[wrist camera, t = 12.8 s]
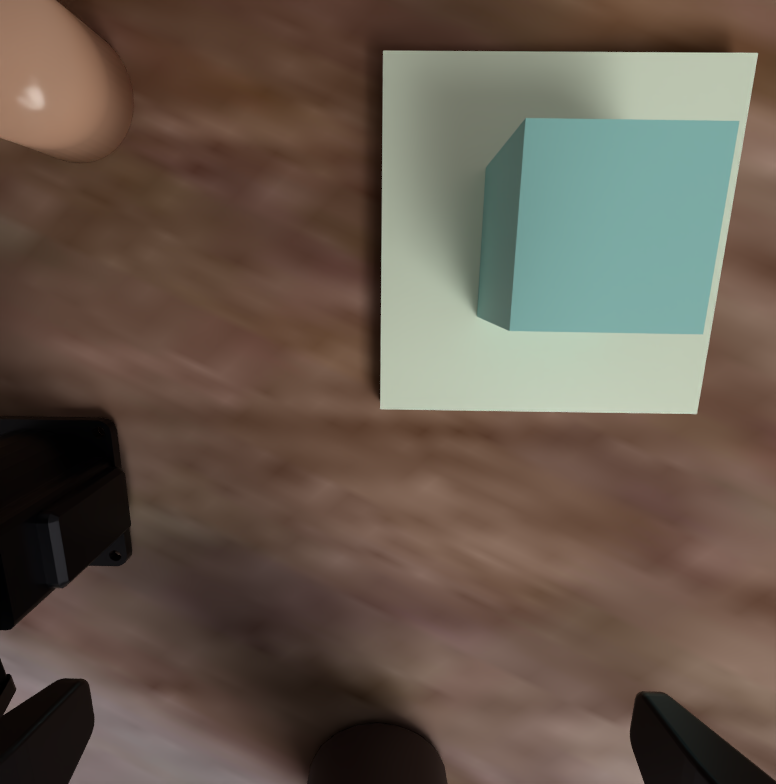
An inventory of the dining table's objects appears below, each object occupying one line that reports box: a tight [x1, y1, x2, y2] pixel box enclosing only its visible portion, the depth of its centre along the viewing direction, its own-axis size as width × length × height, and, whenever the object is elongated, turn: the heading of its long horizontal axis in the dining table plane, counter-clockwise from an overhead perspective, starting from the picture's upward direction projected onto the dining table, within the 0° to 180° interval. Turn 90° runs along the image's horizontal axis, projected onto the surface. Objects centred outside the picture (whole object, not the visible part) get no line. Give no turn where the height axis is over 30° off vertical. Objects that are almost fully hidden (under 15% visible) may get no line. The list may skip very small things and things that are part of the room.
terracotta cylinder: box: [0, 0, 134, 163], centre depth 15 cm, size 4×4×4 cm
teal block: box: [477, 118, 739, 334], centre depth 14 cm, size 5×5×5 cm
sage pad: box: [380, 51, 758, 414], centre depth 17 cm, size 12×12×1 cm
